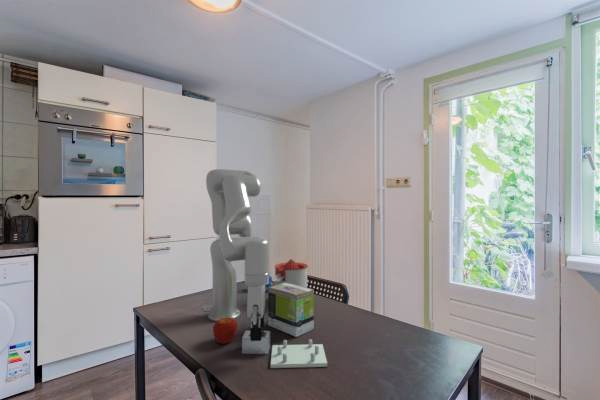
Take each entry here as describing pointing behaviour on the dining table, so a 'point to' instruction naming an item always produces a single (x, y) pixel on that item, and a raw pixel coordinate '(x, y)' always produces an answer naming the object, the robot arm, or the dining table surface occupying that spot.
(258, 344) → the block
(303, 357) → the white peg board
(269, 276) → the grapes
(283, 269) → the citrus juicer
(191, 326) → the dining table surface
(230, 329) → the apple
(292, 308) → the tea box
